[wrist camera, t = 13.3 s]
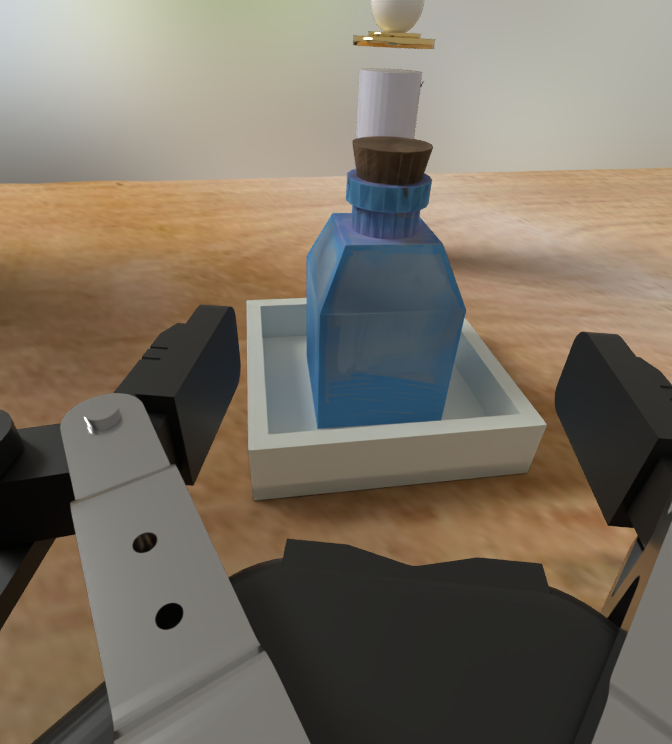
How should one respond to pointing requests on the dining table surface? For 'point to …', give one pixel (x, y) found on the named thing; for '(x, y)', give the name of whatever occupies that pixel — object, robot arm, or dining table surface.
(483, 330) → the dining table surface
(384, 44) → the perfume bottle
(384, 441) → the dish
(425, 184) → the perfume bottle
